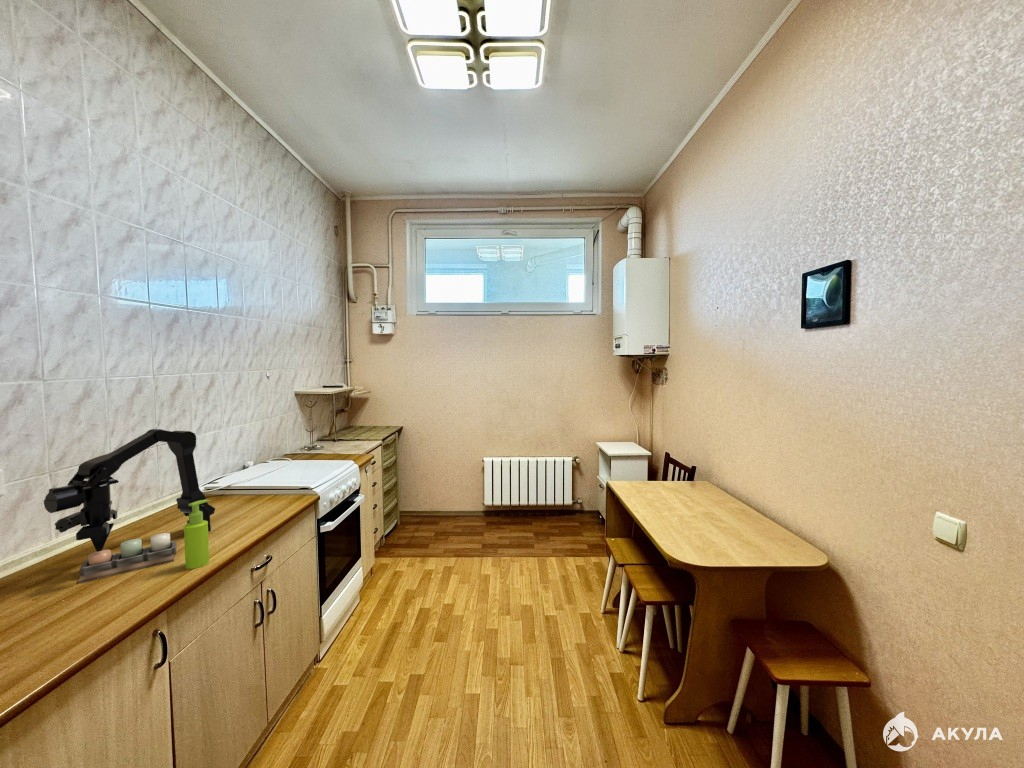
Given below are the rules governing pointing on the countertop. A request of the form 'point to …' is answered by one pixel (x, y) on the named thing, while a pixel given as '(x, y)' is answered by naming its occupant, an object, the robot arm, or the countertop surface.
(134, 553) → the pale green rounded block
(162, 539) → the white rounded block
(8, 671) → the countertop surface
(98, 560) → the pink rounded block
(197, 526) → the soap dispenser
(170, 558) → the soap tray
